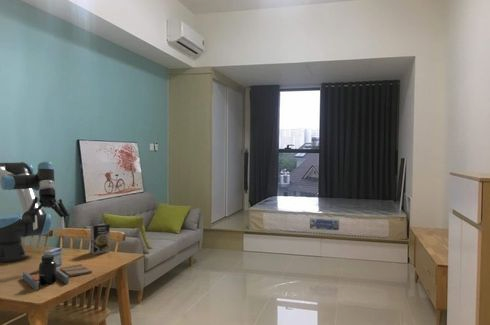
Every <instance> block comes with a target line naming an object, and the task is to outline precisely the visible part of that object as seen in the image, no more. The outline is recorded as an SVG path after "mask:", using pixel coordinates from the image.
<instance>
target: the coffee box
mask: <svg viewBox="0 0 490 325" xmlns="http://www.w3.org/2000/svg"><path fill="white" fill-rule="evenodd" d="M110 225H111V224H109V223H106V222H104V223H102V222H101V223H94V224H93V223H92V224H90V244H89V246H90V249H89V252H90V253H91V254H93V255H97V254H98V255H99V254H105V253H110V231H111V230H110V227H111V226H110Z"/></svg>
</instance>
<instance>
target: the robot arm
mask: <svg viewBox="0 0 490 325" xmlns="http://www.w3.org/2000/svg"><path fill="white" fill-rule="evenodd" d="M55 184H56V182H55V168H54V164H53V163H52V162H50V161H41V162H40V163H38V164H37V172H36V173H35V172H34V168H33V165H32V164H31V163H29V162H25V161H21V162H0V188H1V189H2V191H3V190H4V191H12V190H13V191H15V190H16V193H17V196H18V199H19V202H20V205H21V209H22V212H23V214H22V213H9V214H5V215H2V216H0V263H9V262H16V261H21V260H23V259H24V258H26V255H27V254H26V251H25V247H24V245H23V243H22V241H23V240H22V239H23V238H27V237H28V238H29V237H33V236H43V235H47V234H48V233H49V232H50V231H51V228H52V216H51V213H48V212H45V210H44V208H46V209H47V208H48V209H50V208H51V209H52V210H54V212H56V214H57V215H58V216H59V227H60V231H64V230H65V224H66V223H67V221H66V218H68V217H69V216H70V214H69V212H68V210H67V209H66V207H65V205H64V203H63V200H62V199H61V198H58V199H57V198H56V185H55ZM35 191H37V192H38V197H39V198H38V197H37V195H36V193H35Z"/></svg>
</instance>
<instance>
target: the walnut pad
mask: <svg viewBox="0 0 490 325" xmlns="http://www.w3.org/2000/svg"><path fill="white" fill-rule="evenodd" d="M59 270H60V271H61V272H63V273H64V274H66V275H67V276H68V277H69V278H75V277H79V276H84V275H88V274H92V273H93V272H92V270H91V269H90V268H88V267H86V266H85V265H83V264H82V263H81V264H75V265H69V266H64V267H60V269H59Z"/></svg>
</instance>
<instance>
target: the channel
mask: <svg viewBox="0 0 490 325" xmlns="http://www.w3.org/2000/svg"><path fill="white" fill-rule="evenodd" d="M57 278H58V279H59V281H62V282H63V284H65V285H68V283H69V281H70V277H69V276H68V275H66V274H65V273H64V272H62V271H61V270H60V269H59V268H57V267H56V279H57ZM22 279H23V280H24V281H25V282H26V283H27V284H28V285H29V286H30V287H31V288H32V289H34V291H39V290H40V289H39V286H40V284H39V281H36V280H35V279H34V278H33V276H31V275H30V274H29V273H28V272H27V271H23V272H22Z"/></svg>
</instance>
